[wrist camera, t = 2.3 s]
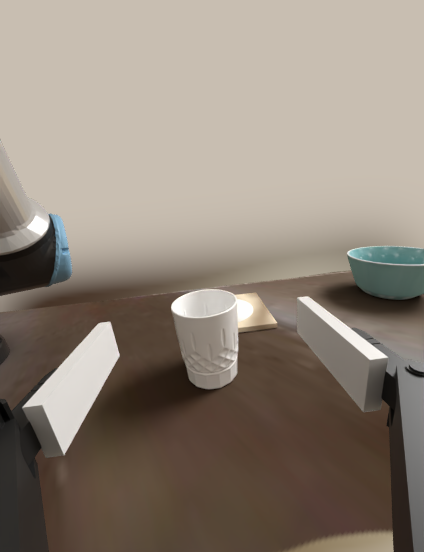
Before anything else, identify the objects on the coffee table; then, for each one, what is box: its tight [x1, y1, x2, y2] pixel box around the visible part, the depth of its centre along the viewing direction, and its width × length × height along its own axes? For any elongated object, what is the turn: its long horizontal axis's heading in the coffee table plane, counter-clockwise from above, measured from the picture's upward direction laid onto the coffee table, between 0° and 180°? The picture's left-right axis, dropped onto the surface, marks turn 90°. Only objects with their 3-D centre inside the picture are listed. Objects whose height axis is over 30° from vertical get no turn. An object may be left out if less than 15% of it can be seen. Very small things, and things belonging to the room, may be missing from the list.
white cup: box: [171, 289, 238, 389], centre depth 27 cm, size 8×8×10 cm
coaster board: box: [235, 293, 277, 333], centre depth 42 cm, size 16×14×1 cm
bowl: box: [347, 246, 424, 300], centre depth 44 cm, size 16×16×8 cm
